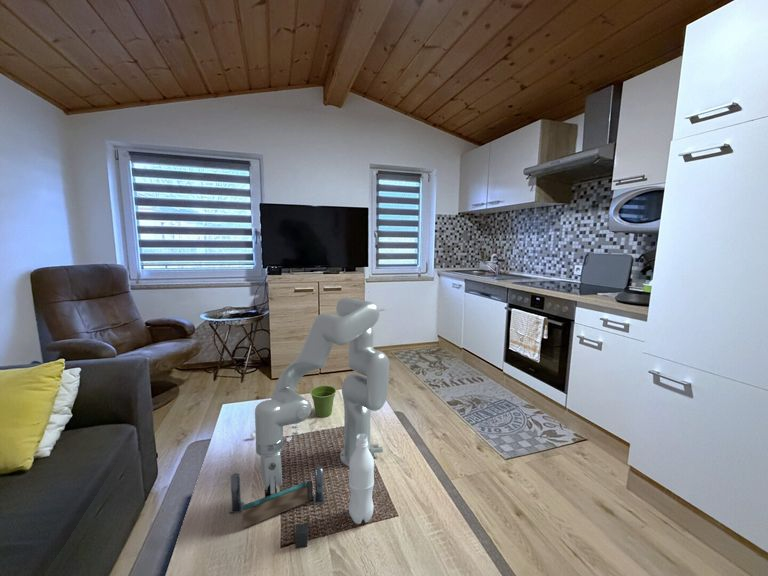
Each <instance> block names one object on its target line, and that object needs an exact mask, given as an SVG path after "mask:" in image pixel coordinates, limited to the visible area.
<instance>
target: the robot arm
mask: <svg viewBox="0 0 768 576" xmlns="http://www.w3.org/2000/svg"><path fill="white" fill-rule="evenodd" d="M335 310H336V314H337V315H336V314H333V313H320V314H319V315H317V316H316V317H315V319H314V321H313V323H312V325H311V327H310V330H309V332H308V335H307V336H306V339H305V341H304V343H303V346H302V348H301V351H300V353H299V355H298V356H297V358H296V359H295V360H293V361H292V362H291V363H289V365H287V367H286V368H285V369H284V370H283V372H282V373H281V374H280V376H279V378H277V382H276V384H275V386H274V388H273V391H272V395H271V397H270V399H266V400H263V401H261V402H260V403H258V404H257V405H256V407H255V410H254V423H255V424H254V425H255V427H254V428H255V430H254V431H255V432H256V433H255V434H256V438H255V453H256V454H257V456H259V457H260V470H261V477H262V482H263V486H264V497H267V496H269V495H274V494H275V493H277V492H278V489H277V486H278V487H282V486H283V471H282V470H283V469H282V456H281V455H282V453H281V451H283V449H284V427H285V426H290V425H295V424H296V423H299V424H300V423H302V422H304V421H305V420H307V418H309V416H310V415H311V412H312V405H311V402H310V401H309V400H308V399H307V398H305V396H303V395H301V394H299V393H297V392H296V388H297V386H298V385H299V382H300V381H301V379H302V378H303V376H305V375H306V374H308V373H310V372H311V371H312V372H313V371H315V370H320V369H323V368H324V367H325V365H326V363H327V360H328V358H329V356H330V353H331V350H332V348H333V346H334V345H338V346H344V345H347V344H348V356H347V364H348V367H349V368H350V370H352V371H354V372H355V373H351V374H348V375H347V376H346V377H345V378H344V379H343V381H342V384H341V393H342V394H341V395H342V399H343V406H344V417H343V418H344V425H343V426H344V431H343V432H344V434H343V437H344V438H343V439H344V440H343V441H344V444H343V445H344V447H343V448H342V450H340V453H339V457H340V458H339V460H340V461H341V463H342V464H343V465H344V466H346V467H349V462H350V458H351V456H352V454H353V453H354V451H355V449H356V441H357V435H359V434H366V435H367V441H368V449H369V451H370V453H371V455H372V457H373V459H374V458H375V454H377V453H378V454H380V453H381V454H382V453H384V452H383V451H384V449H383V446H379V444H378V443H375V444H373V443H371V418H372V417H371V416H372V414H371V412H376V411H379V410H381V409H382V408H383V407H384V405H385V403H386V401H387V397H388V389H389V379H390V378H389V377H390V361H389V358H388V356H387V355H386V354H385V353H384V352H383V351H381V350H377V349H375V348H374V330H373V329H374V328H373V327H374V326H375V325H376V324H377V322H378V321H379V318H380V309H379V307H378V306H377V305H376V304H375V303H374V302H371V301H367V300H362V299H358V298H353V297H343V298H340V299H339V300H338V301H337V303H336V307H335Z"/></svg>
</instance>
